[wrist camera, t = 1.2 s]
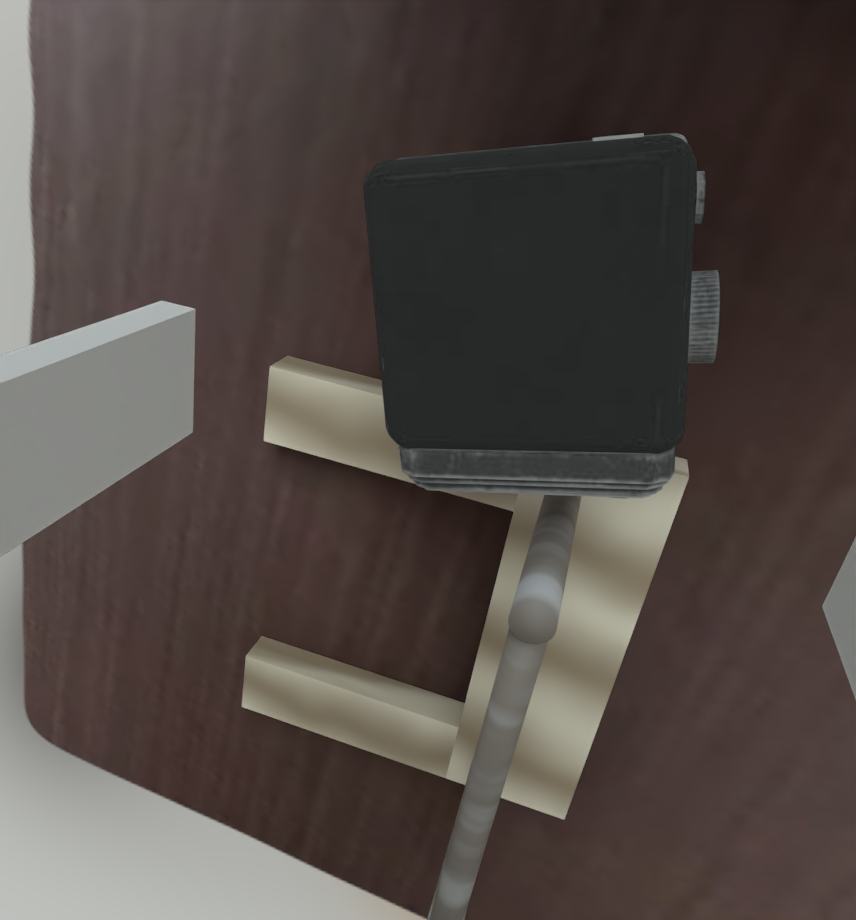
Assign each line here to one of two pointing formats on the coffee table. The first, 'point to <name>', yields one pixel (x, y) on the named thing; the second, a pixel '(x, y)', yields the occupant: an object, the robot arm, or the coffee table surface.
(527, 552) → the wooden rack
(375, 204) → the camera
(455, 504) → the coffee table surface
